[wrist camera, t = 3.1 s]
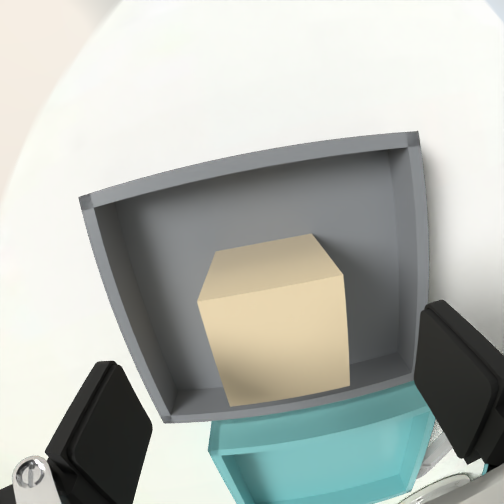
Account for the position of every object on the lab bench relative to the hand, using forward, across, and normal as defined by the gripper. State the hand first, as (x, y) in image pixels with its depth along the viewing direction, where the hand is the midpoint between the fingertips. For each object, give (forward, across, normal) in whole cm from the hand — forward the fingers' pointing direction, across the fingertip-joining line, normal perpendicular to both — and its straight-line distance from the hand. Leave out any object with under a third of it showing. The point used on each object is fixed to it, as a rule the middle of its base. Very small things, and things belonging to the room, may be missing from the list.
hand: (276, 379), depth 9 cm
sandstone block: (+8, 0, +1) cm, 8 cm away
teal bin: (+8, -2, +18) cm, 20 cm away
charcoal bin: (+9, 0, +1) cm, 9 cm away
